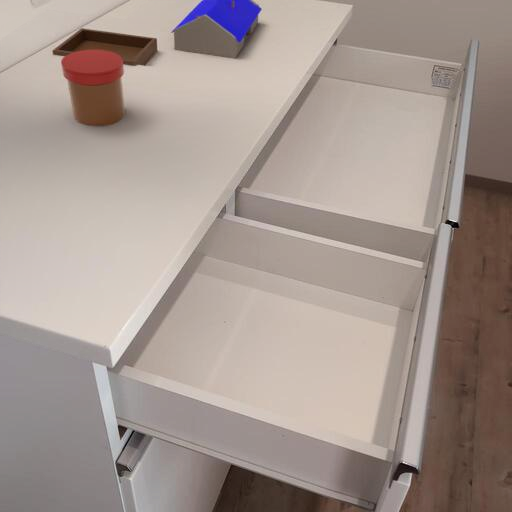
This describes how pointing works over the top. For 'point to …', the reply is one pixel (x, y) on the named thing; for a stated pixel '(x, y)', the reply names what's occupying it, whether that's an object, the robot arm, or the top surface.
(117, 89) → the jar
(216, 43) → the toy house
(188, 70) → the top surface
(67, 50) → the tray
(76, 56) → the cap
